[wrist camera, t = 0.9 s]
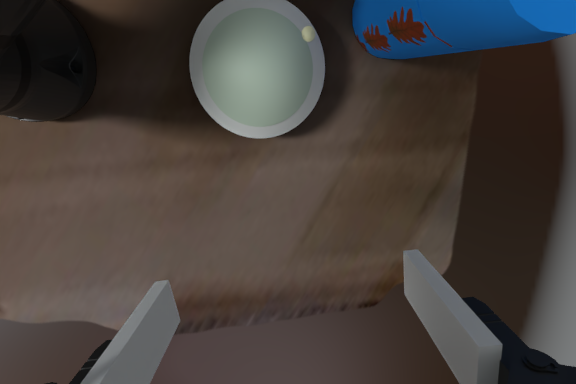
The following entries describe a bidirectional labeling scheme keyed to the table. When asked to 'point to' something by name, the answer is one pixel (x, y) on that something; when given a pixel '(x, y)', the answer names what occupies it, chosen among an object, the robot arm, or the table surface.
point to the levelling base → (257, 66)
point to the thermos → (457, 25)
